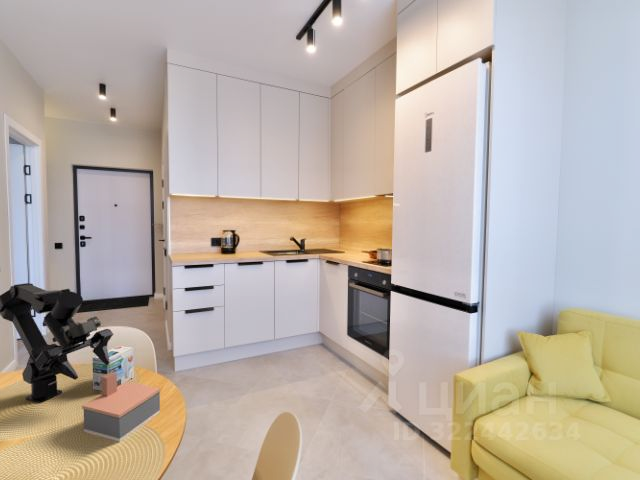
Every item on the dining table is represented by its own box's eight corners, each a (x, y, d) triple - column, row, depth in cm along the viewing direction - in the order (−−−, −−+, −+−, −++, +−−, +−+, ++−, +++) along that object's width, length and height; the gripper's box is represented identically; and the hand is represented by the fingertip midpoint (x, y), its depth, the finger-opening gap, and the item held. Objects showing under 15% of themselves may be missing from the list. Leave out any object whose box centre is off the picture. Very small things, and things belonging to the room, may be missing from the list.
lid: (82, 408, 84) (81, 386, 83) (127, 383, 96) (126, 364, 96) (119, 418, 80) (118, 394, 80) (160, 391, 93) (160, 370, 92)
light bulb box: (109, 392, 103) (108, 359, 103) (91, 390, 105) (91, 357, 104) (135, 377, 114) (134, 347, 113) (118, 374, 115) (118, 345, 114)
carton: (84, 431, 84) (83, 409, 84) (127, 404, 97) (126, 385, 96) (119, 441, 81) (119, 418, 80) (159, 412, 93) (159, 392, 93)
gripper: (40, 319, 83) (73, 368, 80) (108, 302, 101) (136, 341, 98) (21, 346, 86) (52, 393, 83) (89, 324, 103) (117, 363, 101)
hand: (93, 371), depth 91 cm, fingers open, 9 cm apart
